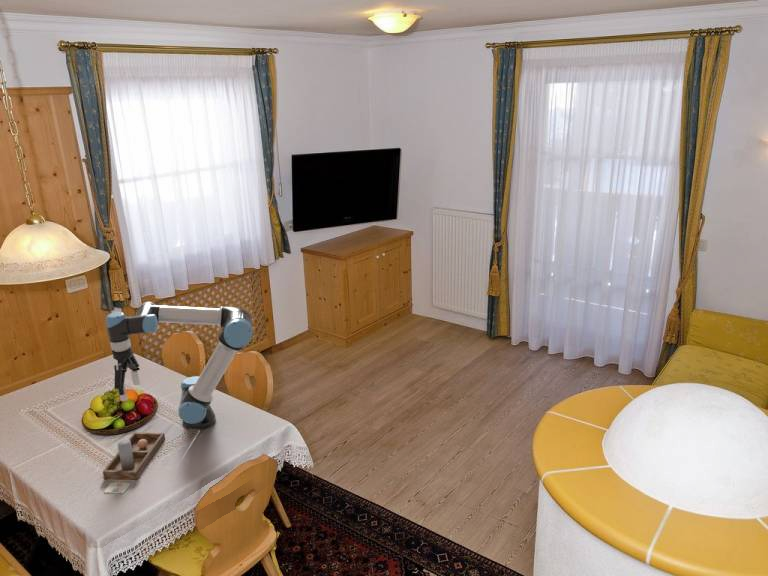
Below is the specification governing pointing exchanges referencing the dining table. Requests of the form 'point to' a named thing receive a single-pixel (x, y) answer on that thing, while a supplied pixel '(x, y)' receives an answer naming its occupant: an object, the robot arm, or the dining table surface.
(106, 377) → the dining table surface
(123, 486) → the card
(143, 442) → the ball
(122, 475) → the tray
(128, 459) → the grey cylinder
